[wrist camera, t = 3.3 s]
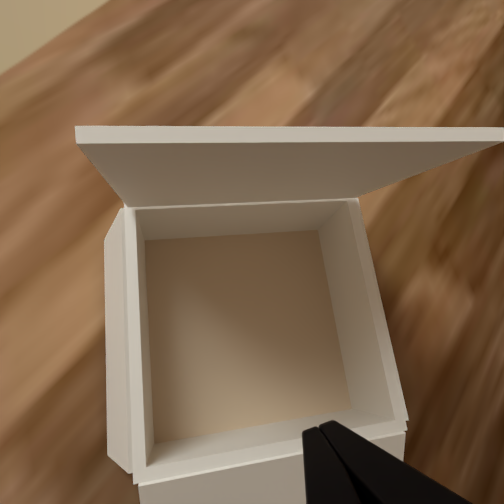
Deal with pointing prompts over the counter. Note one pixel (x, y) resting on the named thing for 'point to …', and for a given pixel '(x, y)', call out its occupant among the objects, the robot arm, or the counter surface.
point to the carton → (242, 346)
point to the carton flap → (267, 160)
